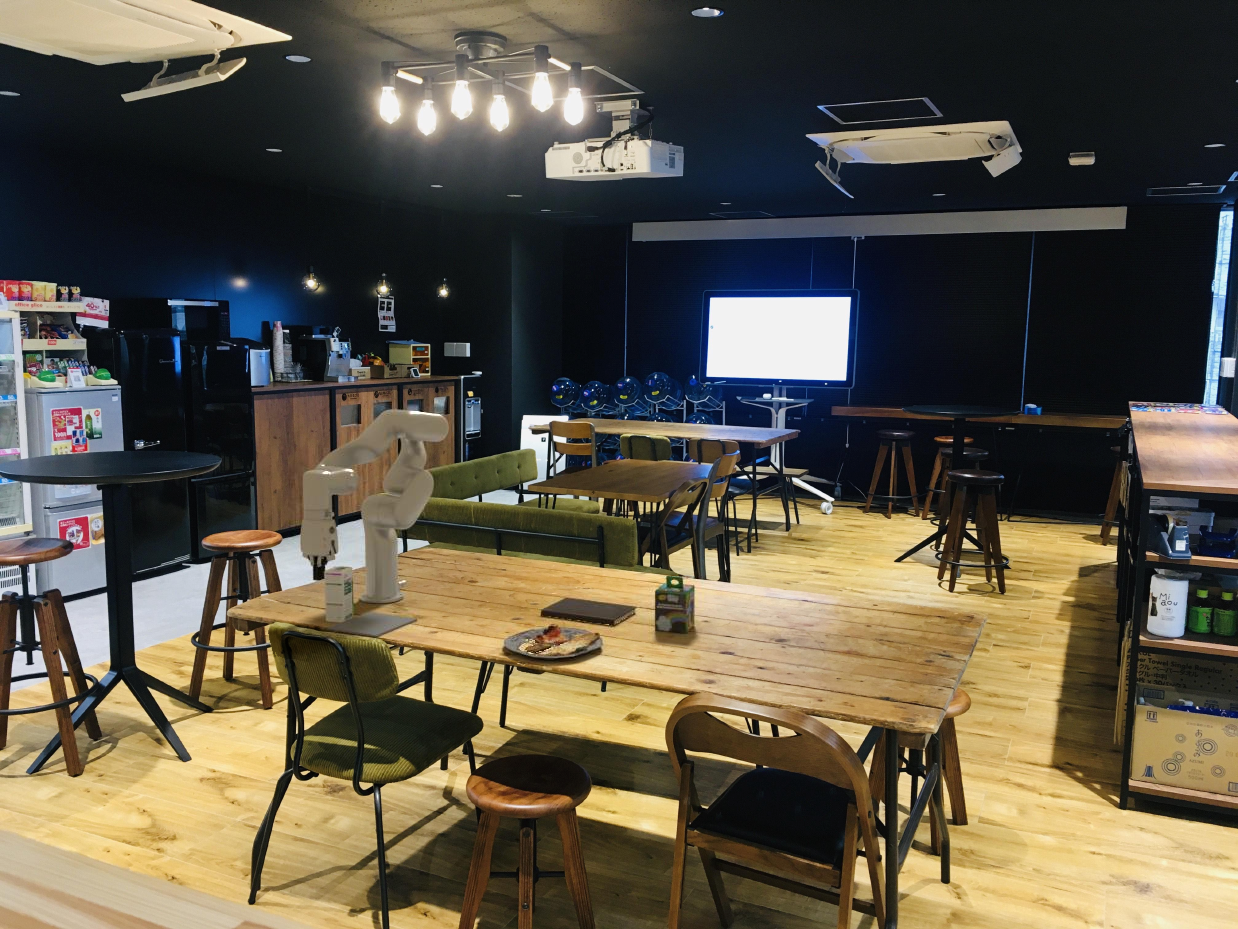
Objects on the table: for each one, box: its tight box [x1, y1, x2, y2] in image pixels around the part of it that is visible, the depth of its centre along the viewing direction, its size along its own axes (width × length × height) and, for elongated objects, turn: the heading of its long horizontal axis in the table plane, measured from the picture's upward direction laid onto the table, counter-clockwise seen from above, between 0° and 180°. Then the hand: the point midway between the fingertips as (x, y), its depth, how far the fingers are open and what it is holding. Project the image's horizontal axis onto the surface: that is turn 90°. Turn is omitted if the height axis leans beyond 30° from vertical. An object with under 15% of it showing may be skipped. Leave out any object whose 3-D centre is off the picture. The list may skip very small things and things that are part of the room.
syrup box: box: [324, 565, 355, 624], centre depth 269 cm, size 6×6×14 cm
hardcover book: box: [540, 597, 638, 626], centre depth 280 cm, size 16×23×2 cm
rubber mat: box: [327, 611, 418, 638], centre depth 265 cm, size 18×16×1 cm
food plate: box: [503, 624, 604, 661], centre depth 247 cm, size 25×23×4 cm
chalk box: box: [654, 575, 696, 635], centre depth 266 cm, size 9×9×15 cm
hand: (319, 579), depth 271 cm, fingers closed
